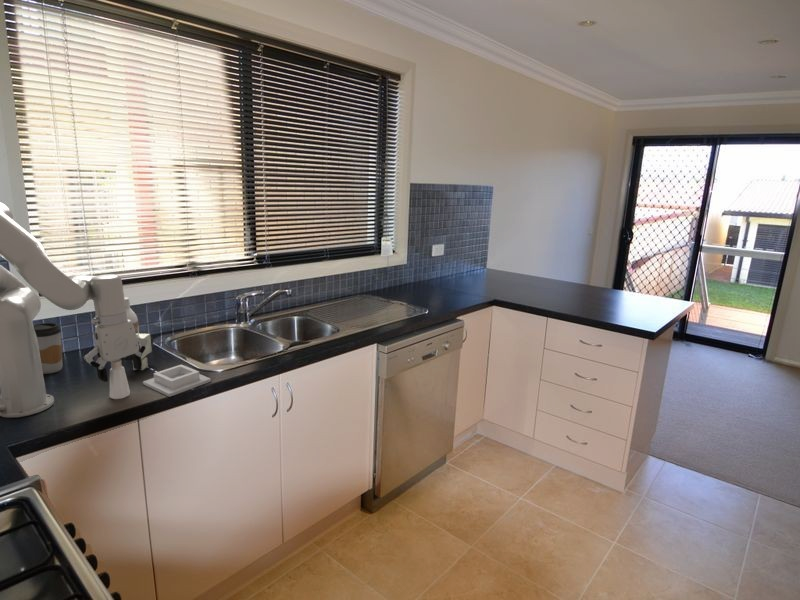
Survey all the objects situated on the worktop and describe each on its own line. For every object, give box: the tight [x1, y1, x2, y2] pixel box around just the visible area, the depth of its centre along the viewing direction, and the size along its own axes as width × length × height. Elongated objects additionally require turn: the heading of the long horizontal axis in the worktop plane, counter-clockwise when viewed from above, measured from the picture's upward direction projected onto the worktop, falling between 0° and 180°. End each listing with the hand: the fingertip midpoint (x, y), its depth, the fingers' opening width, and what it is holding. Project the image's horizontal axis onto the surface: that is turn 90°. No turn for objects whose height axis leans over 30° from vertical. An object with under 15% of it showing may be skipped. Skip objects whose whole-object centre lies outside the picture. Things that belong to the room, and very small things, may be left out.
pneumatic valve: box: [124, 332, 154, 371], centre depth 161 cm, size 6×12×12 cm, turn 2°
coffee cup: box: [33, 322, 64, 375], centre depth 156 cm, size 8×8×15 cm
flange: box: [142, 364, 212, 398], centre depth 152 cm, size 14×14×4 cm
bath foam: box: [124, 296, 140, 333], centre depth 174 cm, size 7×7×20 cm
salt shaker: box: [109, 358, 131, 400], centre depth 142 cm, size 5×5×11 cm
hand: (121, 374), depth 142 cm, fingers open, 9 cm apart
